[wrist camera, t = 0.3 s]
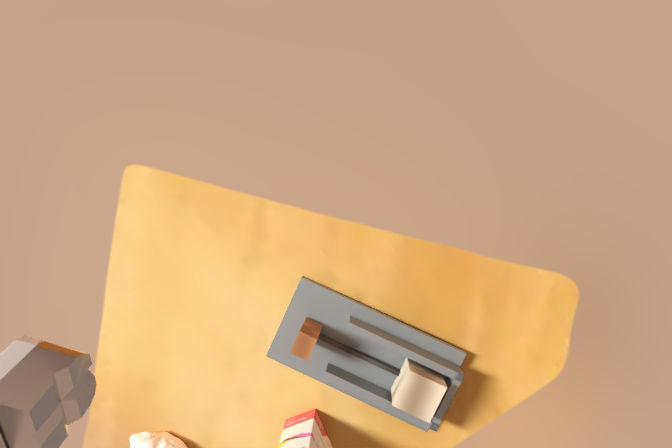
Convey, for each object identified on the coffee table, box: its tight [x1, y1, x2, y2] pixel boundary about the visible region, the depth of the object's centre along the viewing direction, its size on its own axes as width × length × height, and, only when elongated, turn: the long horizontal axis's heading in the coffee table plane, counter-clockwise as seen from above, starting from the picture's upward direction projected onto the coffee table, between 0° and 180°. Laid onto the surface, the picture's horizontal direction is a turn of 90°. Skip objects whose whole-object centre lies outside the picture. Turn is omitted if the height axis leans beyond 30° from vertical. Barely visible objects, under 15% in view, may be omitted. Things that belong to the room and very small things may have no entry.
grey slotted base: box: [267, 276, 467, 432], centre depth 63 cm, size 24×12×4 cm, turn 66°
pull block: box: [290, 317, 447, 423], centre depth 61 cm, size 19×5×6 cm, turn 66°
